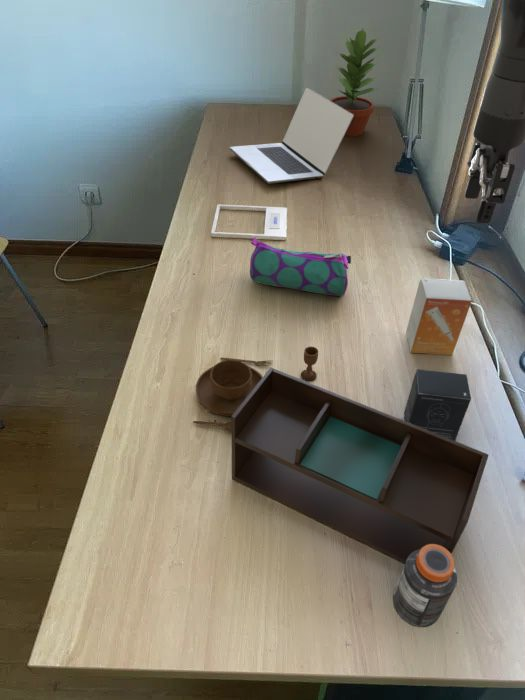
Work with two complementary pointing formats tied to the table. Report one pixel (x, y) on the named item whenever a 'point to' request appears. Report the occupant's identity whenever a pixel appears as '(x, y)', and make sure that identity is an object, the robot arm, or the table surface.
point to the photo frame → (273, 223)
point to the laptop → (301, 142)
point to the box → (438, 402)
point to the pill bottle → (425, 585)
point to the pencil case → (299, 269)
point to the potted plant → (356, 84)
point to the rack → (354, 466)
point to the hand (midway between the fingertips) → (476, 209)
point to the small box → (437, 316)
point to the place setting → (237, 384)
